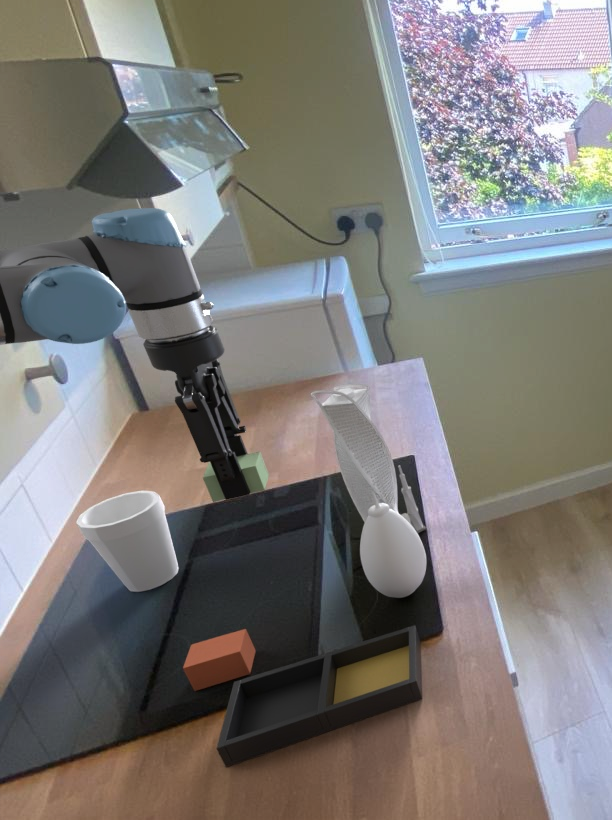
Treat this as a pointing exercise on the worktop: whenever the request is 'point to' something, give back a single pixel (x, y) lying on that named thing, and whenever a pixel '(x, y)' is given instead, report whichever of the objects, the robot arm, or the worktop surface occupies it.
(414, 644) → the divided sorting tray
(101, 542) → the foam cup
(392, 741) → the worktop surface
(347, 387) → the skyscraper
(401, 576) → the white tall egg-shaped piece
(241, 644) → the terracotta block
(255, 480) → the light green block
